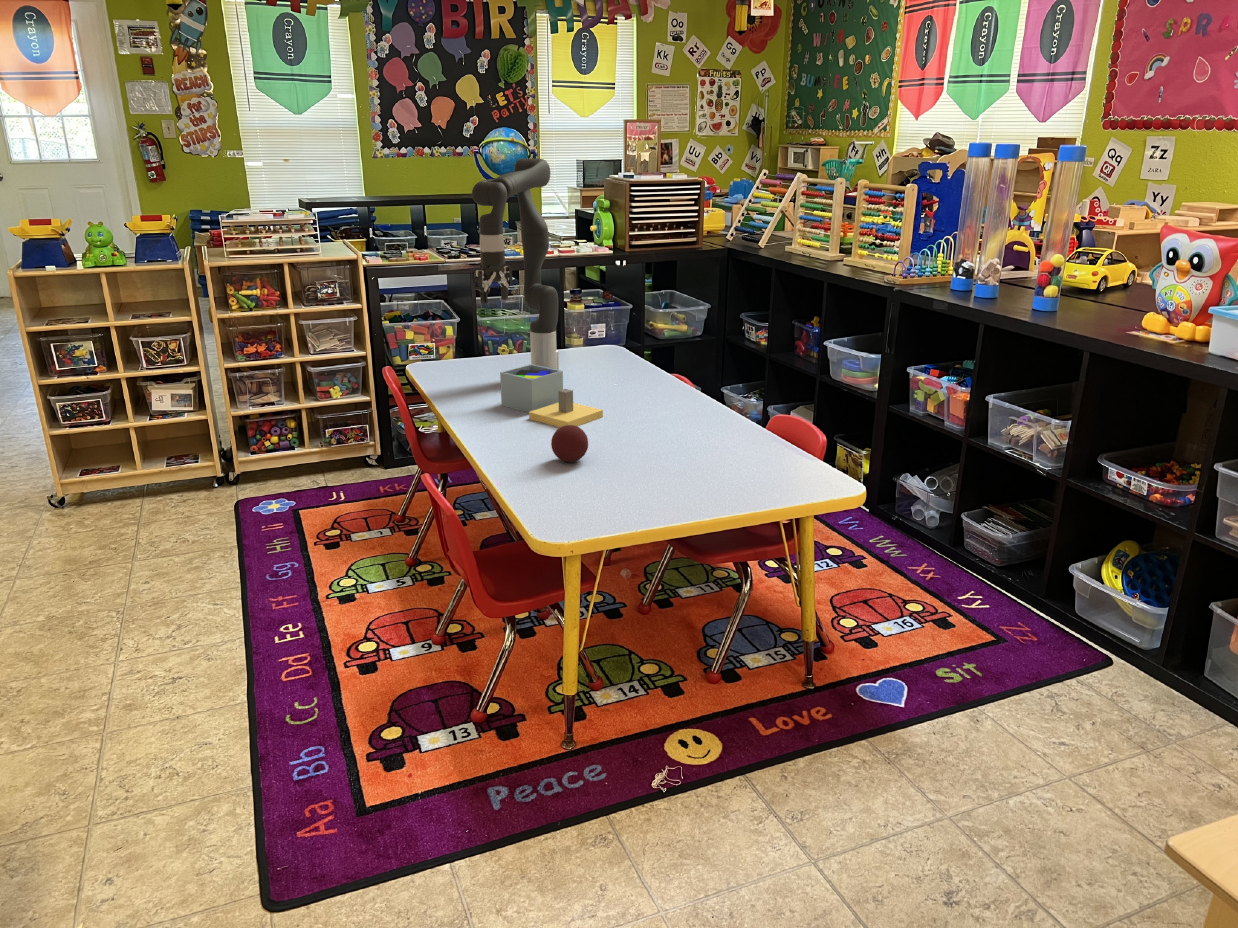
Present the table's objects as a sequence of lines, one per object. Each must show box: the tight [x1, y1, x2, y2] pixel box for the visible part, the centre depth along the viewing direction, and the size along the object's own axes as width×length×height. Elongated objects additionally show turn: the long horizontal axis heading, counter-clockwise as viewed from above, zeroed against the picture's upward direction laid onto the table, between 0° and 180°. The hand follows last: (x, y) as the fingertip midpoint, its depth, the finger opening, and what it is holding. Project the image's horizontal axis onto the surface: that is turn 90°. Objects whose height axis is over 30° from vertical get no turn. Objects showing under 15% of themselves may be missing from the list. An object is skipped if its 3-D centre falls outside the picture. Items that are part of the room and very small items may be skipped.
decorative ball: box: [550, 425, 589, 463], centre depth 241 cm, size 10×10×10 cm
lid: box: [528, 388, 604, 428], centre depth 278 cm, size 16×16×9 cm
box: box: [499, 363, 564, 413], centre depth 291 cm, size 14×14×11 cm
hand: (494, 301), depth 284 cm, fingers open, 8 cm apart
